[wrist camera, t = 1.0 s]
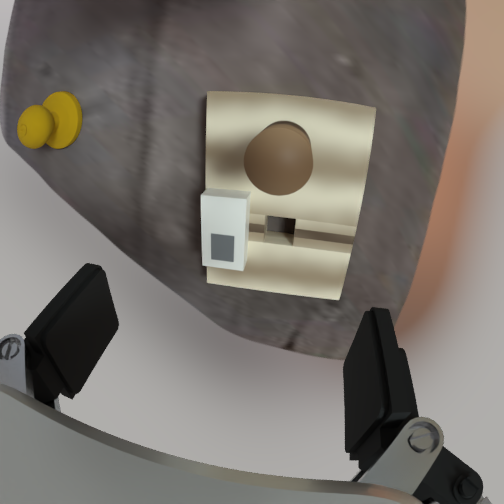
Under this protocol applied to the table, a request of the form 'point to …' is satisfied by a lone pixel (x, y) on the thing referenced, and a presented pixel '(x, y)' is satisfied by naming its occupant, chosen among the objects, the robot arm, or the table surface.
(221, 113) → the cream slotted tray
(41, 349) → the robot arm
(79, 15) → the table surface
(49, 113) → the doorknob
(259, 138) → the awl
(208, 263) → the block
